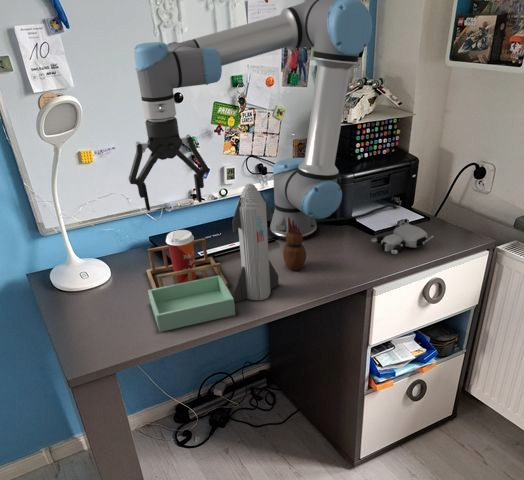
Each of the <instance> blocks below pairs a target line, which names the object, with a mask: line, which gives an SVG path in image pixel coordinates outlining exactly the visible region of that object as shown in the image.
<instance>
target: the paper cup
mask: <svg viewBox="0 0 524 480" xmlns="http://www.w3.org/2000/svg"><path fill="white" fill-rule="evenodd" d="M193 240H195V237H194V235H193V234H192V232H191V231H190V230H186V229H177V230H173V231H170V232H168V233H167V235H166V238H165V243H166V244H167V245H168V248H169V249H168V251H169V256H170V260H171V265H173V269H174V270H173V272H176V271H181V270H186V269H191V268H196V265H195V260H196V259H195V246H194V245H195V244H193ZM196 272H197V271H196ZM196 272H192V278H193V281H194V280H197V273H196ZM177 279H178V284H179V283H184V282H189V277H188V273H186V274H181V275H177Z"/></svg>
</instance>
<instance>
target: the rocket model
mask: <svg viewBox="0 0 524 480" xmlns="http://www.w3.org/2000/svg"><path fill="white" fill-rule="evenodd" d="M271 221H272V209H271V207H270V205H269V203H268V202H267V200H266V198H265V196H264V194H263V192H262V191H259V189H258V188H257V187H256V185H254V184H253V183H247V184H246V185H244V188H243V189H242V191H241V194H240V197H239V198H238V199H237V203H236V208H235V212H234V214H233V218H232V220H231V222H232V233H233V234H234V233H236V232H237V231H238V240H239V241H238V242H239V252H240V261H241V262H240V263H241V267H240V271H239V273H238V277H237V281H236V285H235V286H234V290H233V295H234V296H233V298H234V303H237V302H240V301H243V300H246V299H249V300H251V301H263V300H267V299H268V298H269V296H270V295H271V290H272V289H274V288H276V287H278V286H279V274H278V272H277V270H276V269H275V268H274V266H273V264H272V262H271V260H270V256H269V255H270V254H269V238H268V237H269V236H268V222H271Z"/></svg>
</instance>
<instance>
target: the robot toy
mask: <svg viewBox="0 0 524 480" xmlns="http://www.w3.org/2000/svg"><path fill="white" fill-rule="evenodd" d="M407 223H408V222H404V223H403V224H402V225H400V226H397V227H395V228H394V229H393V232H392V234H389V235H385V236H384V235H379V236H378V235H377V236H376V237H374V238H371V242H372V243H373V244H375V243H377V244H380V249H381V250H383V251H384V252H391V254H392V255H397V254H400V253H401V251H402V249H403V248H404V247H407V248H413V249H416V248H419V247H421V246H424V245H426V244H427V242H429V241H430V240H431V239H433V238H434V235H431V236H430V237H429V238H428V233H427V232H426V231H425V230H424V229H422V228H421V227H419V226H416V225H413V224H407Z"/></svg>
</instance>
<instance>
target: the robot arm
mask: <svg viewBox="0 0 524 480" xmlns="http://www.w3.org/2000/svg"><path fill="white" fill-rule="evenodd" d="M372 33H373V19H372V16H371V13H370V11H369V9H368V7H367V6H366V5H365V3H363V2H362V1H361V0H306V1H304V2H301V3H298V4H295V5H292V6H289V7H285V8H283V9H282V10H281V11H280V14H278V15H273V16H271V17H267V18H263V19H260V20H255V21H251V22H249V23H245V24H242V25H238V26H234V27H231V28H227V29H223V30H221V31H220V30H219V31H217V32H216V31H215V32H213V33H209V34H207V35H206V34H205V35H202V36H199V37H195V38H193V39H187V40H184V41H181V42H177V41H172V42H168V43H165V42H162V41H154V42H143V43H139V44H136V45H135V47H134V49H133V55H134V63H135V64H134V65H135V71H136V74H137V75H136V76H137V81H138V86H139V92H140V97H141V105H142V111H143V117H144V119H146V120H145V129H146V134H147V135H146V136H147V141H146V142H140V141H136V142H135V155H134V157H133V161H132V165H131V169H130V172H129V176H128V181H129V184H130V185H135V186H137V191H138V195H139V197H140V198H141V199H143V200H144V204H145V209H146V211H147V212H150V211H151V206H150V201H149V195H148V190H147V185H146V183H145V181H146V180H147V178H148V176H149V174H150V172H151V171H152V169H153V167H154V166H155V164H156V163H157V161H158V160H160V161H164V160H167V159H169V160H170V159H174V158H175V157H178V158H179V159H180V160H181V161H183V163H184V164H185V165H187V166H188V167H189V168H190V169H191V170H192V171H193V172H194V173H195V174H193V179H194V180H193V181H194V187H195V195H196V200H197V201H198V203H202V202H203V199H202V190H201V189H204V187H205V185H204V182H205V181H204V175H205V174H207V173H209V172H210V168H209V167H208V165H207V163H206V162H205V160H204V158H203V157H202V155H201V153H200V152H199V150H198V149H197V148H196V145H195V142H194V138H193V137H192V135H190V134H187V135H186V136H184V137H181V136H180V132H179V124H178V119H177V117H176V116H177V109H176V102H175V94H174V89H179V88H187V87H197V86H204V85H205V86H208V85H211V84H215V83H218V82H219V81H220V80H221V78H222V73H223V66H226V65H231V64H234V63H238V62H241V61H243V60H247V59H251V58H254V57H258V56H260V55H264V54H268V53H271V52H274V51H277V50H281V49H285V48H287V49H288V50H289V51H293V50H296V49H302V48H313V52H312V59H313V61H314V62H315V64H316V75H315V81H314V88H313V96H312V103H311V110H310V118H309V125H308V132H307V138H306V139H307V140H306V141H307V142H306V145H305V146H306V147H305V154H304V157H292V158H284V159H281V160H278V161H276V162H275V163H274V165H273V168H272V169H273V170H272V178H273V197H274V198H273V199H274V211H273V215H272V217H271V221H270V226H269V229H270V230H269V231H270V234H271V236H272V237H274V238H276V239H279V240H283V241H286V234H287V233H288V217H289V219H290V222H291V226H292V220H294V226H295V225H297V228H299V230H300V232H301V233H302V237H303V240H305V239H309V238H311V237H313V236H314V235H316V233H317V228H318V225H317V224H319V223H327V222H328V223H329V222H338V221H346V220H353V219H358V218H363V217H366V216H368V215H369V216H370V215H371V214H373V213H374V212H378V211H382V210H385V209H387V208H393V209H397V208H398V207H397V205H395V204H391V203H390V204H386V205H383V206H380V207H377V208H374V209H372V210H369V211H367V212H365V213H362V214H357V215H352V216H346V217H347V218H343V217H336V218H337V219H335V218H328V217H330V216H331V215H332V214H333V213H335V212H336V211H337V210H338V208H339V207H340V205H341V203H342V200H343V190H342V188H341V185H339V184H338V178H339V173H340V172H339V169H338V168H337V166H336V158H337V152H338V146H339V140H340V134H341V128H342V122H343V115H344V110H345V105H346V98H347V92H348V86H349V80H350V75H351V70H352V69H353V68H354V67H355V66H356V65H357V64H358V61H359V57H360V53H362V52H363V51H364V50H365V48H366V47H367V46H368V44H369V43H370V41H371V37H372ZM183 144H184V146H186V147H188V148H189V150H190V151H191V153H192V154H193V156H194V157H195V159H196V161H197V162H198V163H199V165H200V168H199V167H198V166H197V165H196V164H195V163H194V162H193V161H192V160H191V159H190V158H188V157H187V155H185V154H184V153H183V152H182V151H181V150H180V149H181V147H182V145H183ZM147 149H148V150H149V151H150V154H149V156H148V158H147V160H146V162H145V164H144V166H143V167H142V168H141V171H140V173H139V174H138V172H139V170H140V166H141V162H142V158H143V154H144V153H145V152H146V150H147Z"/></svg>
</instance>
